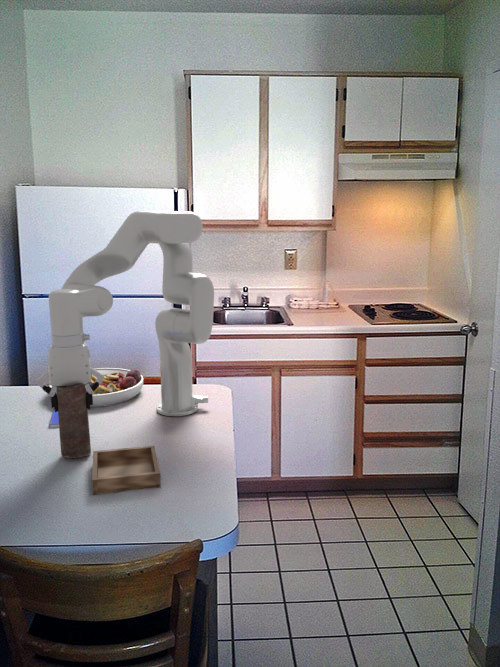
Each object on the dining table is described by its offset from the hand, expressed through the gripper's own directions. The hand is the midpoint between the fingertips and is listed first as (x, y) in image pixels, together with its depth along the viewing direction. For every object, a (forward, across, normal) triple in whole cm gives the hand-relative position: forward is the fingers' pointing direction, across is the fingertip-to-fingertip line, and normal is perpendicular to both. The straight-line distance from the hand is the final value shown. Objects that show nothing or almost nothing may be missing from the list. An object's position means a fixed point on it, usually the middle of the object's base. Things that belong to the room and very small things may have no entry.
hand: (72, 408), depth 156 cm
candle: (+13, 0, 0) cm, 13 cm away
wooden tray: (+13, -12, +14) cm, 22 cm away
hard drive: (+14, +4, -28) cm, 31 cm away
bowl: (+13, -5, -49) cm, 51 cm away
